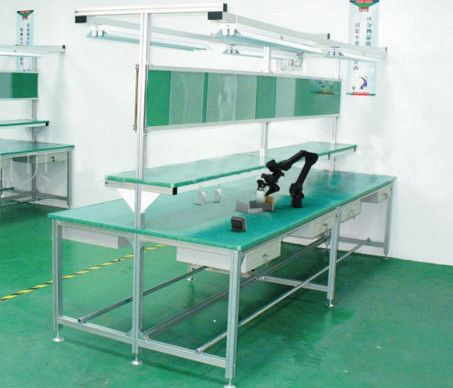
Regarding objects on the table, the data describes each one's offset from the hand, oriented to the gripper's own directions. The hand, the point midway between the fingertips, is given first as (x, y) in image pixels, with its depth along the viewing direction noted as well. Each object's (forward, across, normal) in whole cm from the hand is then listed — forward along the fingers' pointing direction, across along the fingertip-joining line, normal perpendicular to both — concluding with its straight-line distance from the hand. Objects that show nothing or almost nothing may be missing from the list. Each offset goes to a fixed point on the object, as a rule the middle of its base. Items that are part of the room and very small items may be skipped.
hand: (260, 194), depth 421 cm
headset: (+20, -31, -6) cm, 37 cm away
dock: (+12, 0, +2) cm, 13 cm away
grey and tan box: (+7, 0, +7) cm, 10 cm away
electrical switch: (+40, +42, -26) cm, 64 cm away
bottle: (+6, 0, +6) cm, 8 cm away
